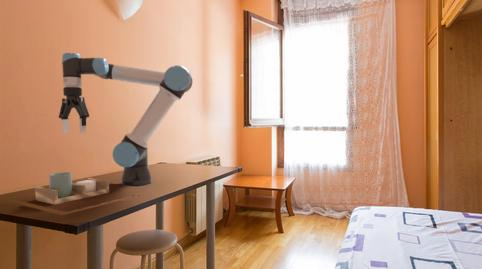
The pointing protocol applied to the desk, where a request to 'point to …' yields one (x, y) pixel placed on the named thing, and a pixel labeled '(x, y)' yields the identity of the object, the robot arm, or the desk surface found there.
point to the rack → (76, 193)
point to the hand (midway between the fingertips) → (74, 133)
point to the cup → (61, 183)
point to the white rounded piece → (88, 185)
